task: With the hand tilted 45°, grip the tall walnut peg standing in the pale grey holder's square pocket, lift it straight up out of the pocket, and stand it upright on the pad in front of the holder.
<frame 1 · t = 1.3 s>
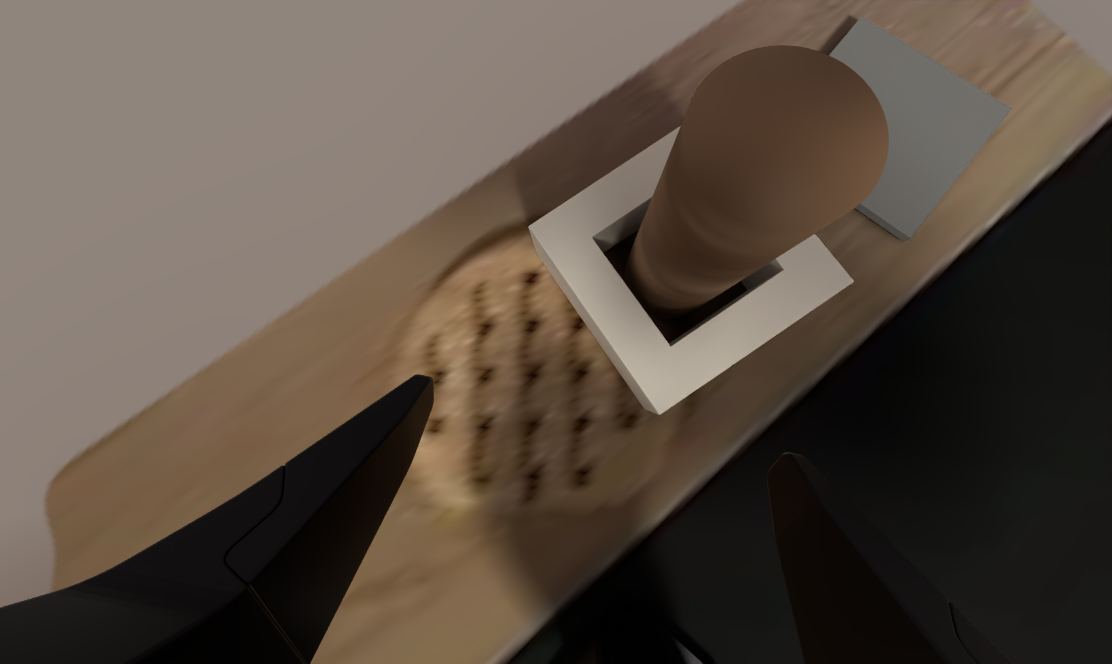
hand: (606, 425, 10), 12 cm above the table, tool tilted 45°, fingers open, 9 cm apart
pad: (878, 127, 23), on the table
holder: (666, 276, 23), on the table
peg: (702, 233, 16), in the holder
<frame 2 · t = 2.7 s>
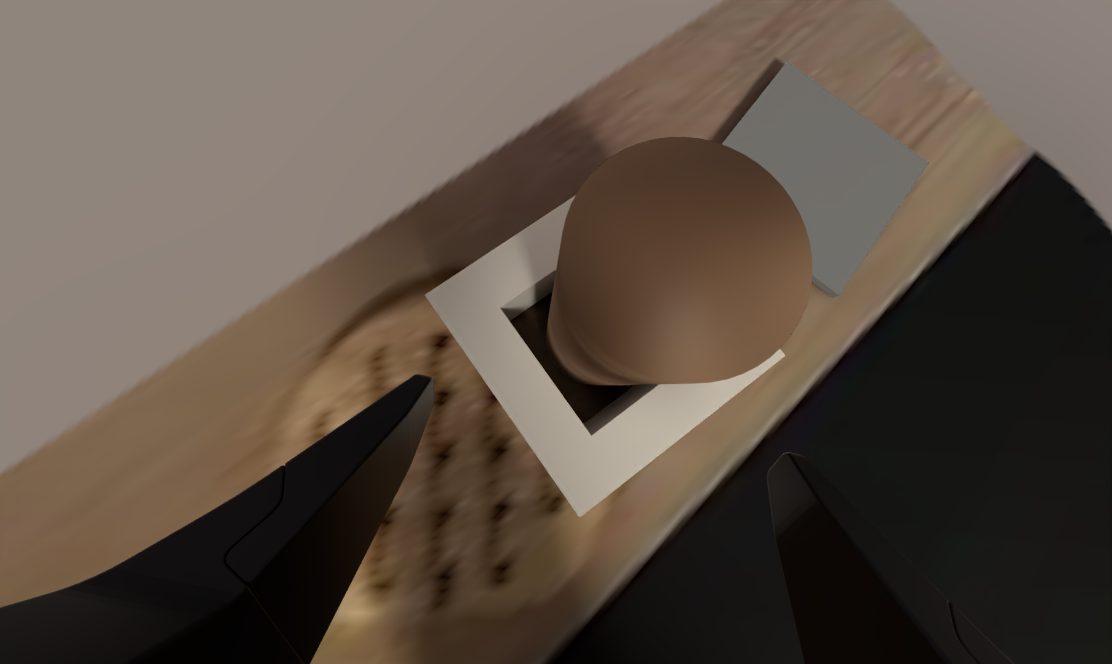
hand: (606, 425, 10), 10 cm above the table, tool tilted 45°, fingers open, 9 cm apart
pad: (806, 177, 22), on the table
holder: (593, 337, 20), on the table
peg: (619, 315, 14), in the holder
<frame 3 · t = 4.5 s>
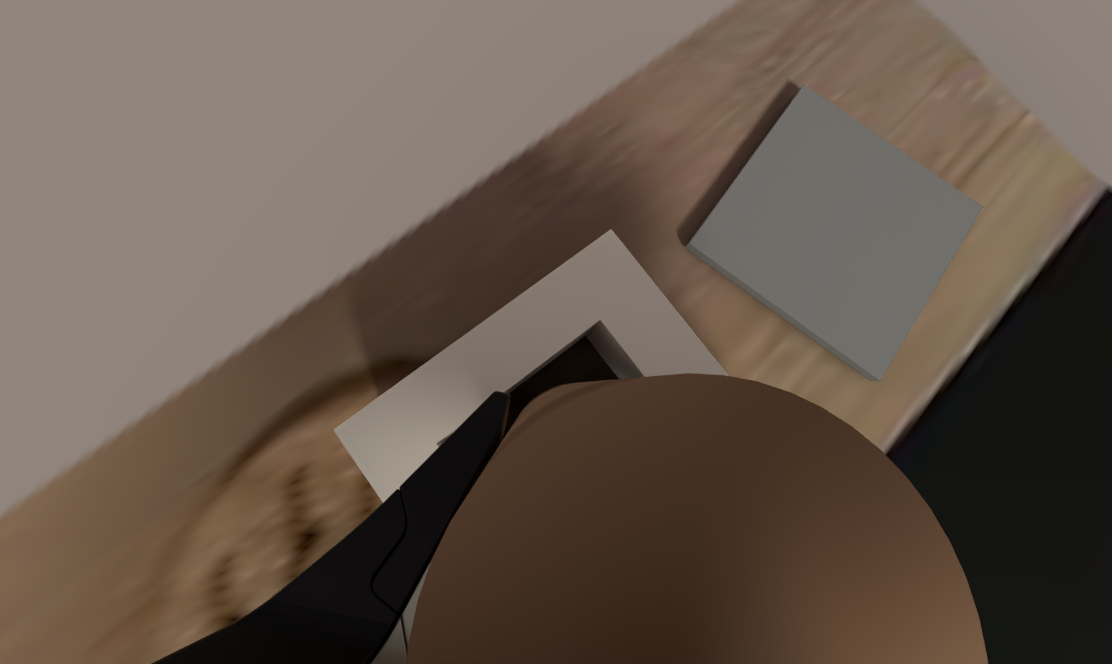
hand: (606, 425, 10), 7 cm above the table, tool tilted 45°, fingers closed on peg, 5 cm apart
pad: (831, 229, 18), on the table
holder: (571, 444, 16), on the table
peg: (594, 482, 10), in the holder, touching gripper
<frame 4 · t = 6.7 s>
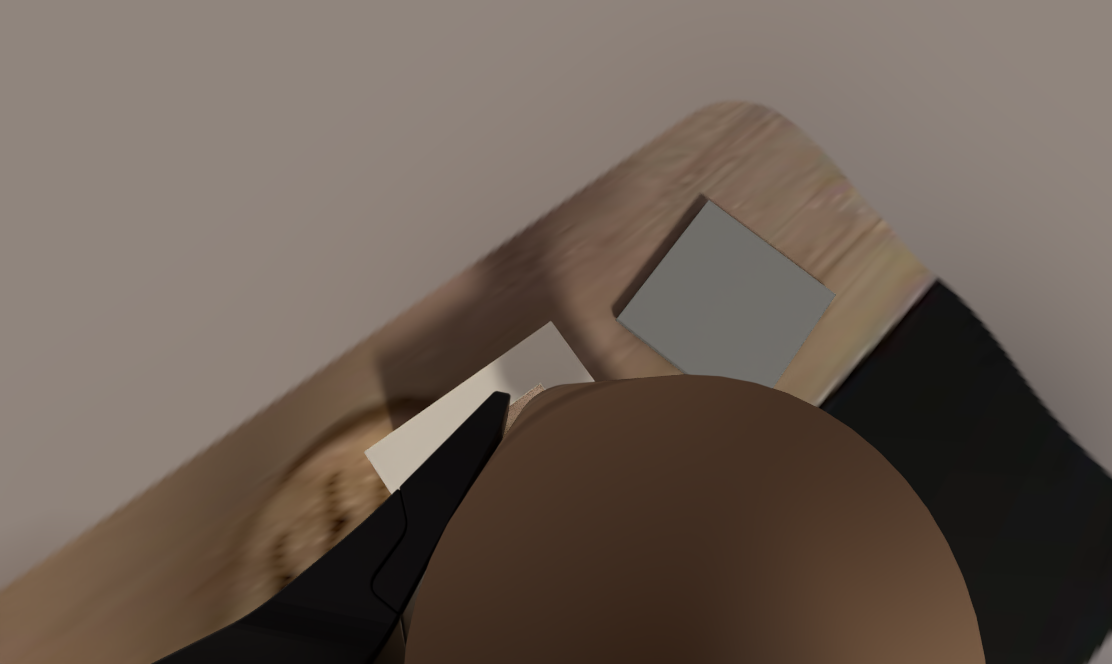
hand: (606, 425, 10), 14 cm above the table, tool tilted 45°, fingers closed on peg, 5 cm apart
pad: (724, 308, 25), on the table
holder: (526, 462, 23), on the table
peg: (593, 483, 10), point 14 cm above the table, touching gripper
when the fingers open (8 cm above the table, at t = 9.3 s): peg stays where it is, resting on pad.
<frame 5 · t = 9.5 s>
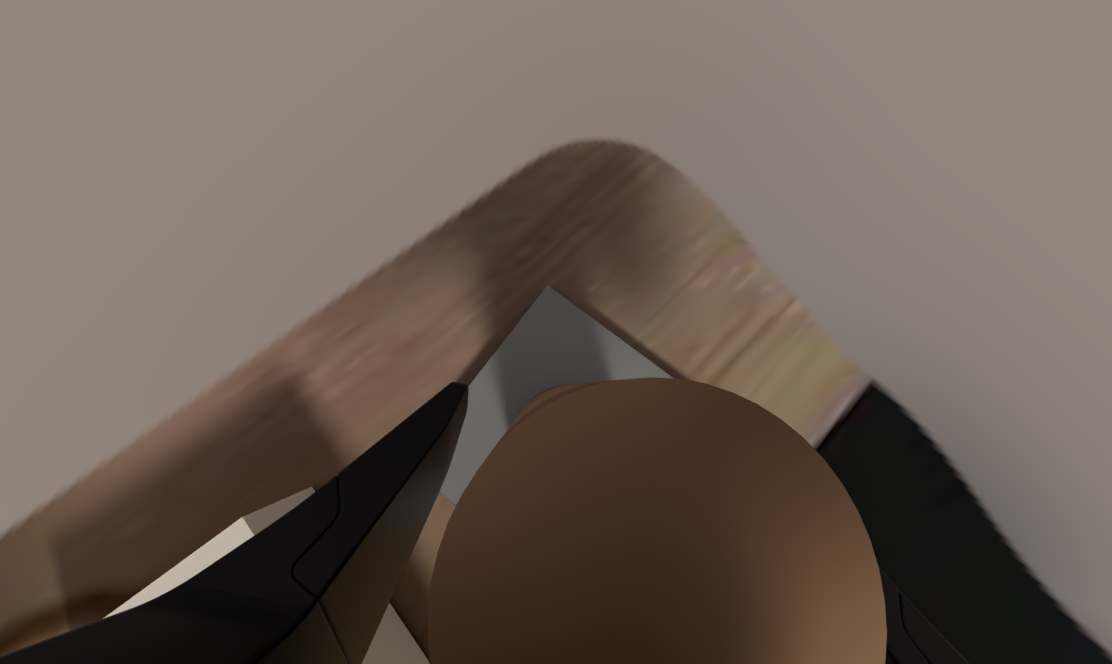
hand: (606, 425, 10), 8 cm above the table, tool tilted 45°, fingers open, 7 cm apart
pad: (569, 438, 18), on the table
peg: (587, 475, 11), on the pad
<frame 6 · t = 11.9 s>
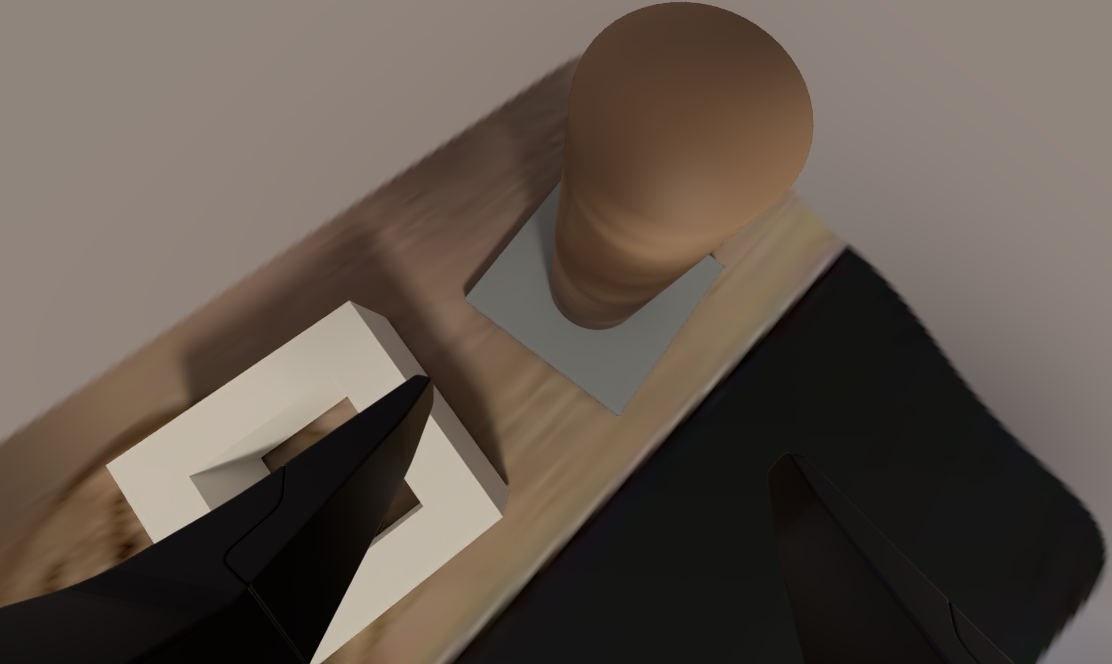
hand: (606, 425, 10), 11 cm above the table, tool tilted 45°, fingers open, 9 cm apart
pad: (595, 284, 21), on the table
holder: (354, 470, 19), on the table
peg: (623, 235, 14), on the pad
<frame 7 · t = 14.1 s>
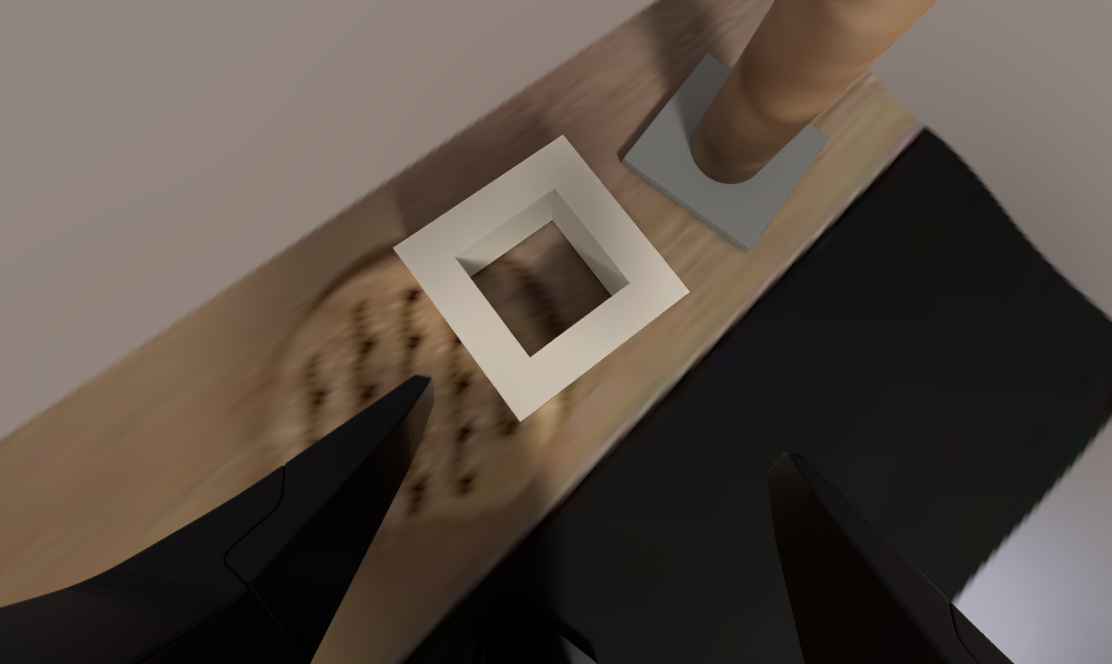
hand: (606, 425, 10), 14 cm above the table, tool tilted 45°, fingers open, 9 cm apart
pad: (724, 152, 26), on the table
holder: (541, 289, 24), on the table
peg: (791, 69, 19), on the pad
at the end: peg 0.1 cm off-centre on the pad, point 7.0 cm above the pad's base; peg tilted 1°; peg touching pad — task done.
